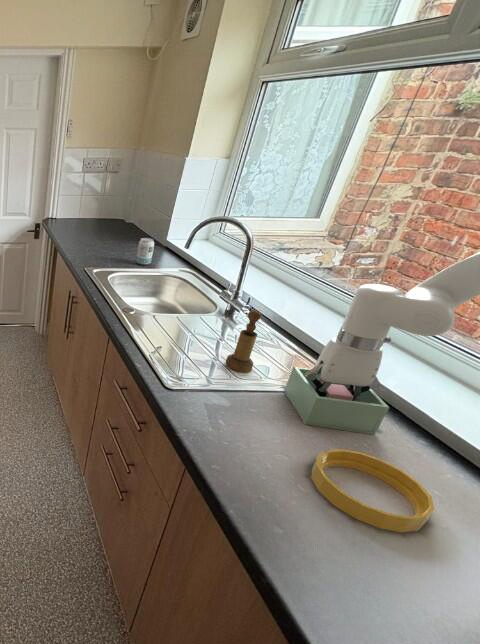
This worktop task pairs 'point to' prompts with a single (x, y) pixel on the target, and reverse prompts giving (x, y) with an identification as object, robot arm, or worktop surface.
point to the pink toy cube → (339, 392)
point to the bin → (334, 406)
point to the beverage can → (145, 251)
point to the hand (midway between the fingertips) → (330, 403)
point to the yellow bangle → (382, 471)
